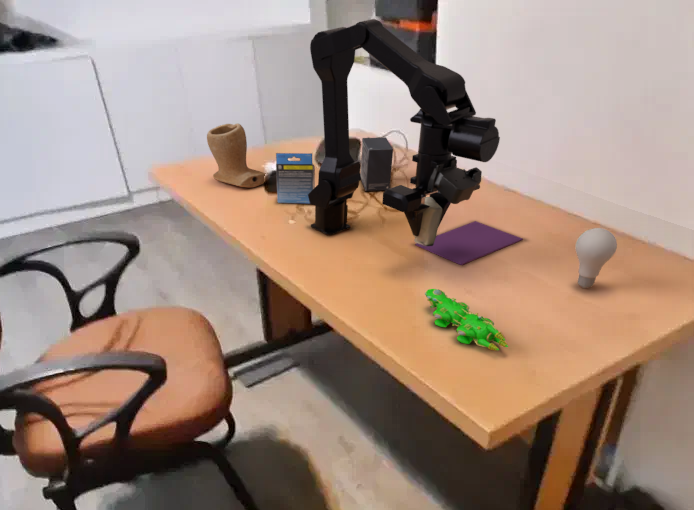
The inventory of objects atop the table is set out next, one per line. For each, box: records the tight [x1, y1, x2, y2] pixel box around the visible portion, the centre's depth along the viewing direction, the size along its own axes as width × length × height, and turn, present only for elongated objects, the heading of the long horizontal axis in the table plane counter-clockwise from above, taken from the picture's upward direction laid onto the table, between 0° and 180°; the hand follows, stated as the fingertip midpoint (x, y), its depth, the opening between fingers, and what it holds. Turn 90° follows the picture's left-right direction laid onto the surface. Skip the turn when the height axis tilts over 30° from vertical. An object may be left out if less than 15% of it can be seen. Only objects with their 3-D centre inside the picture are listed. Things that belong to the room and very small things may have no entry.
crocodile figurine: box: [424, 288, 509, 351], centre depth 100 cm, size 7×18×4 cm, turn 24°
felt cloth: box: [414, 220, 524, 266], centre depth 128 cm, size 18×12×1 cm, turn 122°
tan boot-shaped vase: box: [206, 123, 267, 188], centre depth 162 cm, size 15×12×15 cm
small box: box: [360, 137, 394, 192], centre depth 156 cm, size 11×6×10 cm, turn 179°
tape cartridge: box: [275, 152, 316, 205], centre depth 150 cm, size 9×4×12 cm, turn 76°
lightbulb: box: [574, 227, 618, 289], centre depth 107 cm, size 6×6×11 cm
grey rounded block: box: [411, 196, 442, 246], centre depth 118 cm, size 6×5×8 cm
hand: (425, 232), depth 119 cm, fingers closed on grey rounded block, 5 cm apart
